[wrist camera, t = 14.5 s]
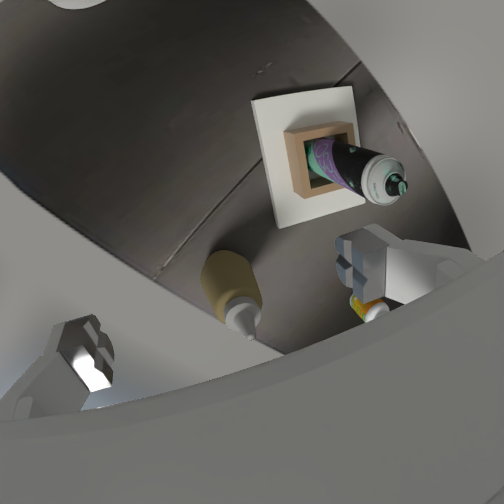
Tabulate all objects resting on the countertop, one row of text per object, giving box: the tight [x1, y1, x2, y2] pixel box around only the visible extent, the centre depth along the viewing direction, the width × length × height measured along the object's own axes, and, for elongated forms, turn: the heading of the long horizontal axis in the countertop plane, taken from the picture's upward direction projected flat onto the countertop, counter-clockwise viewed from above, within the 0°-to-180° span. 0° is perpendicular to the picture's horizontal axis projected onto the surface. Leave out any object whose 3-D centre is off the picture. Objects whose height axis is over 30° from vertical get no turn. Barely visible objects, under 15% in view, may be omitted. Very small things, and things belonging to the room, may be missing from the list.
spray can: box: [304, 137, 408, 205], centre depth 38 cm, size 6×6×20 cm
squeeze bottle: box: [200, 250, 263, 341], centre depth 44 cm, size 8×8×18 cm
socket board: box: [251, 86, 365, 229], centre depth 45 cm, size 20×16×6 cm
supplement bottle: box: [350, 294, 389, 323], centre depth 59 cm, size 5×5×10 cm
